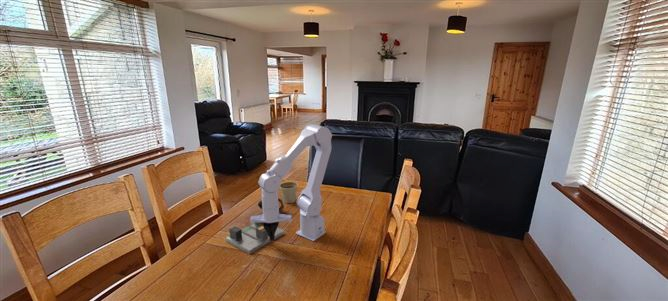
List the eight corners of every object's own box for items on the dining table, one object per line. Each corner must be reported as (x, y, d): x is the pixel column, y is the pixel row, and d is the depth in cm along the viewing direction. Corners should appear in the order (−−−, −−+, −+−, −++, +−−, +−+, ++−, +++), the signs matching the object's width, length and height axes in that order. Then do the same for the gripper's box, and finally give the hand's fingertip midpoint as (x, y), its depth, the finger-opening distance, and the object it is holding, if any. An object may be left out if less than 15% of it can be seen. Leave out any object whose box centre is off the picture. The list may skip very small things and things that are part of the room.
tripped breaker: (268, 237, 109) (267, 228, 108) (263, 239, 107) (262, 230, 106) (261, 233, 112) (260, 224, 111) (256, 236, 110) (255, 227, 109)
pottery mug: (283, 207, 138) (286, 197, 133) (279, 224, 131) (282, 214, 126) (258, 202, 137) (260, 192, 131) (253, 219, 130) (255, 208, 124)
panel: (283, 233, 115) (283, 222, 114) (249, 254, 102) (248, 241, 100) (260, 223, 123) (260, 212, 122) (226, 241, 110) (224, 229, 108)
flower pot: (276, 203, 142) (275, 187, 139) (284, 196, 150) (284, 180, 148) (293, 206, 139) (293, 189, 137) (301, 198, 148) (301, 182, 146)
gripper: (291, 200, 107) (292, 232, 111) (252, 201, 106) (254, 234, 109) (290, 209, 100) (291, 243, 104) (248, 210, 99) (250, 244, 103)
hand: (272, 239), depth 106 cm, fingers closed
